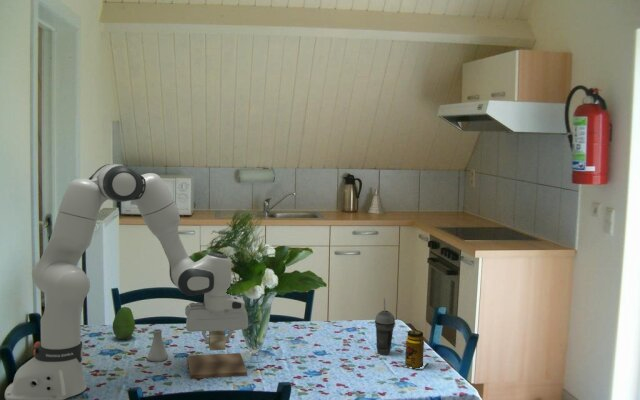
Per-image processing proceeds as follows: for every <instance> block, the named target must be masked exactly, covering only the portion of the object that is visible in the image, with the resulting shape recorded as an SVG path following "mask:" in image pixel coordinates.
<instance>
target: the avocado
mask: <svg viewBox="0 0 640 400" xmlns="http://www.w3.org/2000/svg"><path fill="white" fill-rule="evenodd" d="M135 323H136V321H135V318H134V314H133V312H132V310H131V308H130V307H127V306H124V307H121V308H119V309H118V311H117V312H116V314H115V317H114V318H113V322H112V331H113V334H114V336H115V337H116V338H117V339H119V340H127V339H129V338H131V337H132V335H133V334H134V331H135V327H136V324H135Z"/></svg>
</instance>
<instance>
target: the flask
mask: <svg viewBox="0 0 640 400" xmlns="http://www.w3.org/2000/svg"><path fill="white" fill-rule="evenodd" d="M152 333H153V337H152V343H151V345H150V348H149V349H150V350H149V352H148V355H147V358H146V361H150V362H164V361H165V360H168V358H169V354H168V352H167V350H166V347H165V344H164V342H163V336H162V333H163V329H162V328H155V329H152Z"/></svg>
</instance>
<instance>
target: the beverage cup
mask: <svg viewBox="0 0 640 400" xmlns="http://www.w3.org/2000/svg"><path fill="white" fill-rule="evenodd" d="M395 325H396V321H395V317H394V314H393V313H392V312H390V311H388V310H386V298H385V297H383V310H382V311H379V312H378V313H377V314H376V315H375V319H374V327H375V332H376V333H375V334H376V351H377V353H376V354H378V355H379V354H380V355H379V356H390V354H391V349H392V343H393V340H392V339H393V332H394V328H395Z"/></svg>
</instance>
